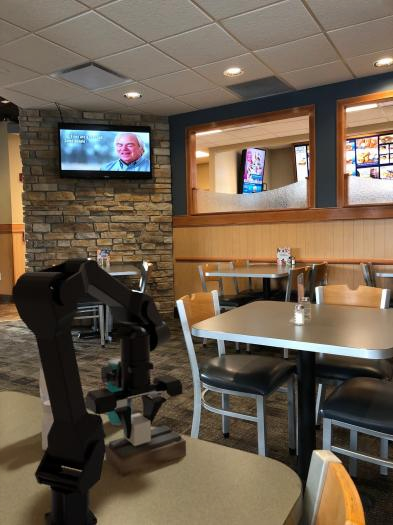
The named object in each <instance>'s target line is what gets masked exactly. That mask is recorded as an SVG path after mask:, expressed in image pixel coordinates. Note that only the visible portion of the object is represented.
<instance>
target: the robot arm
mask: <svg viewBox="0 0 393 525" xmlns="http://www.w3.org/2000/svg"><path fill="white" fill-rule="evenodd" d="M11 292H12V293H11V295H12V300H13V303H14V305H15V308H16V311H17V313H18V316H19V318H20V320H21V321H22V322H23V323H24V324H25V326H26V327H27V328H28V329H29V330H30V332H32V334H33V335H34V336H35V340H36V344H37V345H36V346H37V349H38V353H39V354H38V355H39V358H40V359H39V360H40V363H41V367H42V368H43V373H44V378H45V382H46V387H47V391H48V396H49V400H50V405H51V410H52V414H53V420H54V421H53V424H52V426H51V428H50V430H49V433H48V435H47V442H48V447H47V449H46V450H44V451H45V452H44V453H43V455H42V458H41V459H40V462H39V464H38V465H37V467H36V470H35V472H34V476H35V479H36V482H37V484H39V485H46V486H49V487H50V488H49V489H50V493H49V494H50V496H49V497H50V511H48V512H46V513H44V515H43V519H44V521H45V522H46V525H96V524H98V518H97V516H96V515H95V514H94V512H93V511H92V509H91V508H90V490H91V489H92V488H93V487H94V486H95V485H97V483H99V482H100V481H101V479H102V473H103V468H104V463H105V462H104V461H105V444H106V442H105V439H106V437H107V435H106V433H105V431H104V423H103V418H102V416H101V415H102V414H108V412H112V411H113V412H115V413H116V414H117V416H118V418H119V420H120V423H121V425H122V426H121V428H122V430H123V431H124V433H125V436H126V438H128V439H130V435H131V408H130V407H129V406H127V400H128V399H132V400H133V399H136V398H140V397H141V400H142V411H143V412H142V415H143V416H144V417H145V418H147V419H148V420H150V421H151V426H152V424H153V422H154V421H155V418H156V416H157V414H158V412H159V410H160V409H161V408H162V405H163V404H164V403H166V402H167V399H166V398H165V397H164V396H163V392H165V391H166V394H167V395H168V396H169V397H171V398H172V397H176V396H180V395H183V393H184V384H183V382H182V381H181V379H179V378H176V377H175V376H174V375H173V376H172V375H171V374H165V375H160V376H155V377H154V378H153V380H152V382H151V370H154V363H153V362H151V354H150V353H151V352H153V351H155V350H157V349H159V348H161V347H164V346H165V345H166V344H168V343H169V342H170V340H171V337H172V331H171V330H170V327H169V325H168V324H167V323H166V322H165V321H164V320H163V315H161V314H160V312H159V309H158V308H157V305H156V303H155V300H154V298H153V297H152V295H150V294H148V293H145V292H143V291H139V290H134V289H131V288H129V287H127V286H126V285H125V284H123V283H122V282H121V281H119V280H118V279H117V278H115V277H114V275H112V274H110V273H109V272H107V271H106V270H105V269H103V268H102V267H101V266H100V265H99V263H98V262H97V260H95V259H93V258H91V257H85V258H84V257H69V258H68V259H64V260H63V261H61V262H60V263H58V264H54V265H51V266H47V267H45V268H42V269H41V268H40V269H38V270H36V271H27V272H23V273H22V274H20V276H19V277H18V278H17V279H16V282H15V284H14V285H13V286H12V291H11ZM86 294H89V295H90V296H92V297H93V298H95V299H97V300H98V301H99V302H101V303H103V304H104V305H106V306H107V307H109V313H110V315H111V317H113V319H115V320H116V321H117V322H118V323H122V325H121V326H120V328H119V329H118V330H117V331H116V333H115V334H114V338H115V339H118V340H119V341H120V345H119V346H120V358H121V361H118V369H114V370H113V367H112V366H108V365H107V366H102V367H101V370H100V371H101V372H100V376H101V377H100V378H101V382H102V383H103V384H105V383H106V384H107V382H111V386H115V385H116V387H117V388H121V391H117V392H111V391H109V390H108V389H107V388H106V387H103V388H98V389H93V390H89V391H88V392H87V394H86V395H85V397H84V391H83V386H82V381H81V376H80V371H79V366H78V361H77V360H78V359H77V355H76V349H75V346H74V340H73V334H72V328H71V327H72V324H73V322H74V319H75V317H76V314H77V311H78V309H79V308H78V300H80V299H81V298H82V297H84V296H86ZM123 324H124V325H123ZM127 394H128V395H127ZM87 408H88V409H89V410H91V412H93V413H89V412H88V410H87ZM123 431H122V432H123Z"/></svg>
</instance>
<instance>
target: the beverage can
mask: <svg viewBox="0 0 393 525" xmlns="http://www.w3.org/2000/svg"><path fill="white" fill-rule="evenodd" d="M118 361H121V357H116V358H110V359H109V360H107V363H108V364H107V366H112V367H113V370H114V369H118ZM106 387H107V389H108V390H109V391H111V392H117V391H121V388H117V387H116V385H115V386H111V382H106ZM127 395H128V394H127ZM132 400H133V398H132V399H128V400H127V406H129V407H130V408H131V415H133V401H132ZM107 418H108V420H109V422H110V424H111V425H113V426H115V427H117V426H118V427H120V426H121V427H122V425H121V423H120V420H119V418H118V416H117V414H116V413H115V412H113V411H112V412H107Z"/></svg>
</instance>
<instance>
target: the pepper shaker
mask: <svg viewBox="0 0 393 525" xmlns="http://www.w3.org/2000/svg"><path fill="white" fill-rule="evenodd" d="M42 410H43V416H42V417H41V449H42V450H43V451H46V449H47V447H48V442H47V435H48V433H49V430H50V428H51V426H52V424H53V421H54V420H53V414H52V410H51V405H50V400H48V401H46V402H44V403H43V406H42Z"/></svg>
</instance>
